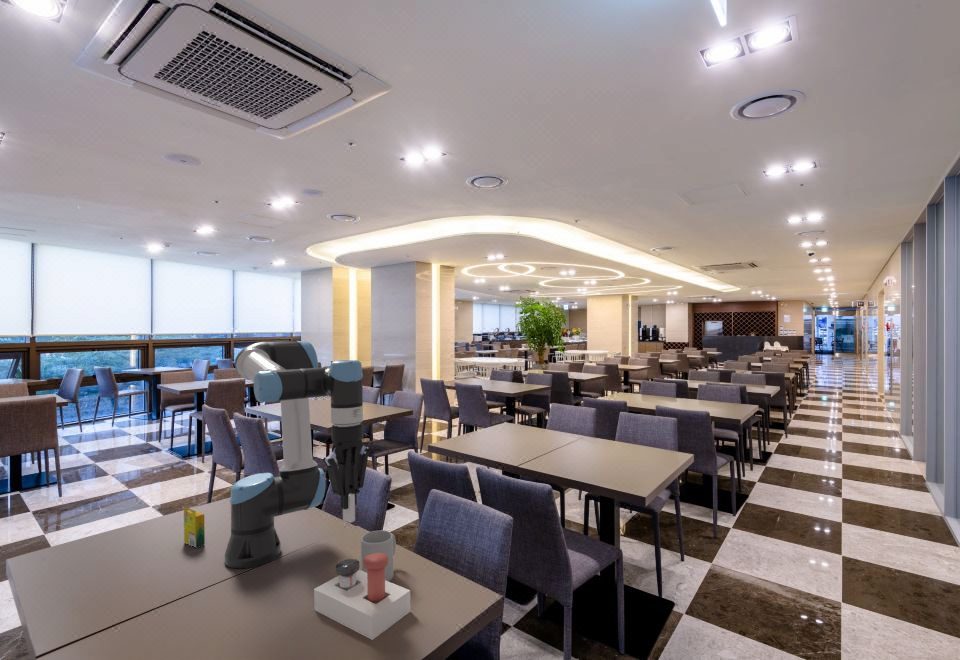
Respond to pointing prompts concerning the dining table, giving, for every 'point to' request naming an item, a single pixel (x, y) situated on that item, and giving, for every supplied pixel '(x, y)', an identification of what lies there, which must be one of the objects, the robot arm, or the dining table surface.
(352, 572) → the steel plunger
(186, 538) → the crayon box
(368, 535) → the mug
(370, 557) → the red plunger
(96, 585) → the dining table surface
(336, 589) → the white socket block
